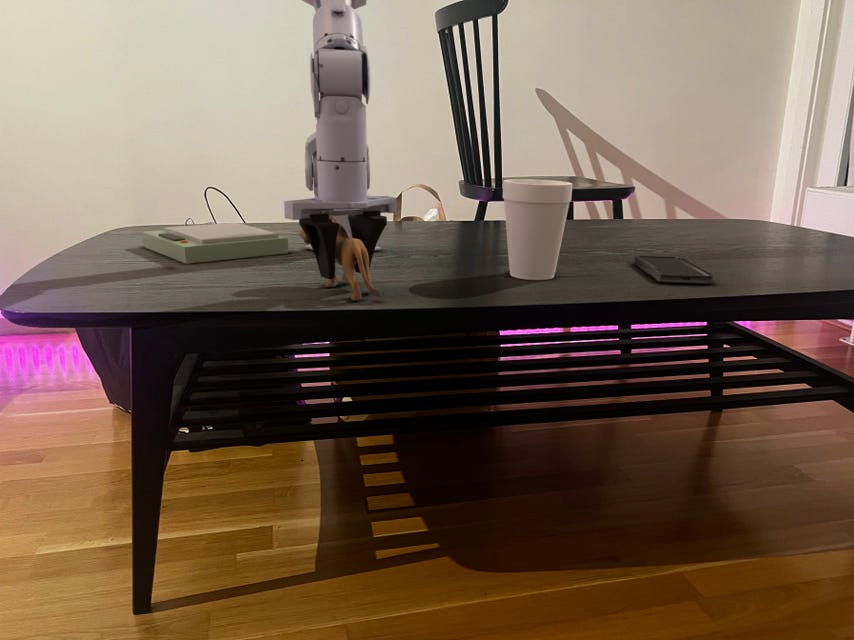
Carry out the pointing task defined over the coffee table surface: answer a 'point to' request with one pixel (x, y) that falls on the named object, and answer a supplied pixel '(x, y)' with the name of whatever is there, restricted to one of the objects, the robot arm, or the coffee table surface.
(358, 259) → the lion figurine
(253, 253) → the kitchen scale
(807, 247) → the coffee table surface
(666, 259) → the phone
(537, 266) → the foam cup
